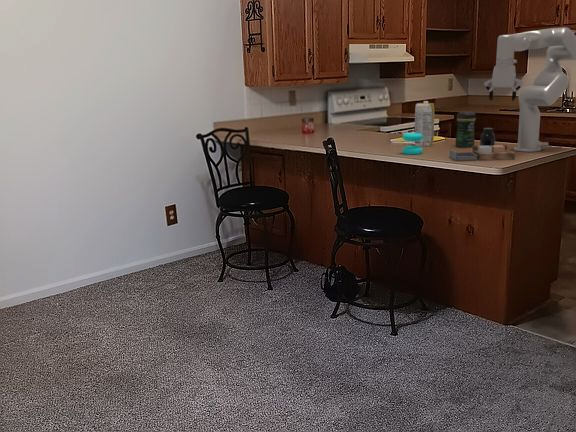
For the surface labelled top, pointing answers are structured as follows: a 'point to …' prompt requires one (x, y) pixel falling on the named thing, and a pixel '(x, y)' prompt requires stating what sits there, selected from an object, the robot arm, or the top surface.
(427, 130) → the juice carton
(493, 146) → the tile
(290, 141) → the top surface
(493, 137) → the supplement bottle
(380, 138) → the top surface
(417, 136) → the donuts
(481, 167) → the top surface
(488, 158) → the board
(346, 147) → the top surface
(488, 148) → the tile
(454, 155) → the box
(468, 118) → the coffee jar
